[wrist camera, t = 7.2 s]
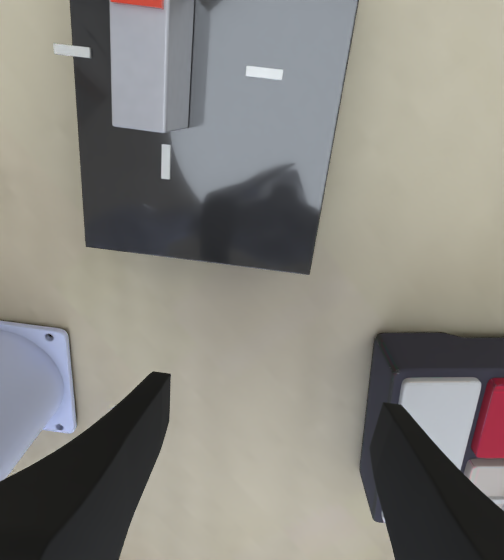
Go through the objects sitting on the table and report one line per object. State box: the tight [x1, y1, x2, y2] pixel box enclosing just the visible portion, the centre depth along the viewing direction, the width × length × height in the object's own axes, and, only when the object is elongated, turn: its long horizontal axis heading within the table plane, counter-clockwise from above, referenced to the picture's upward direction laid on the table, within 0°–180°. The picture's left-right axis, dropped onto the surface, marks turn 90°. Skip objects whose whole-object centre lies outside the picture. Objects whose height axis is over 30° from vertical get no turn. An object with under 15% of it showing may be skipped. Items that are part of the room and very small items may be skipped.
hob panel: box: [54, 0, 359, 275], centre depth 17 cm, size 11×12×3 cm
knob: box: [109, 0, 194, 133], centre depth 13 cm, size 5×2×4 cm, turn 173°
